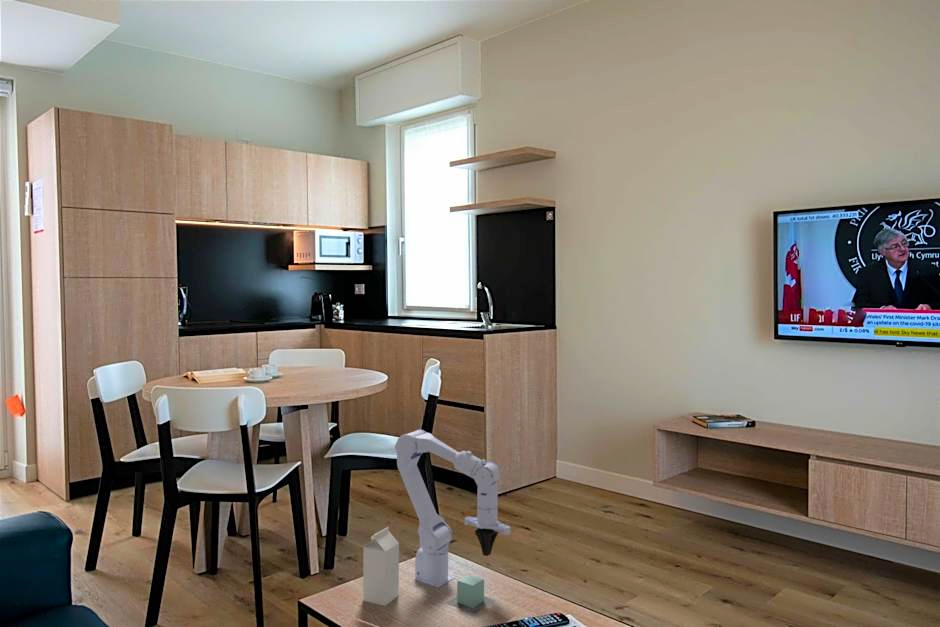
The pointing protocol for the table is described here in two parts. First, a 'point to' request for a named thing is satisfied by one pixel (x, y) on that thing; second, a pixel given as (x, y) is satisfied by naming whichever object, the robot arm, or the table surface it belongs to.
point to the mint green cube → (470, 591)
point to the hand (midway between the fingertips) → (486, 554)
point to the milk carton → (381, 568)
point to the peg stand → (475, 609)
